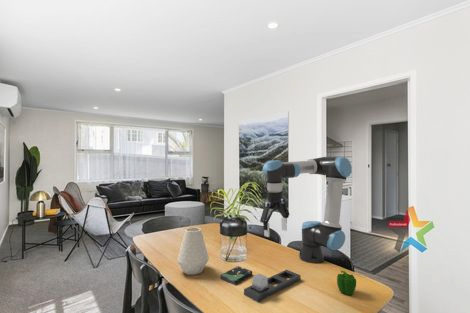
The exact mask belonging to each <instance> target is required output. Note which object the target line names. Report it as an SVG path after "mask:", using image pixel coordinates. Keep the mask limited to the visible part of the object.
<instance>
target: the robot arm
mask: <svg viewBox="0 0 470 313" xmlns="http://www.w3.org/2000/svg"><path fill="white" fill-rule="evenodd" d="M352 170H353V168H352V164H351V161H350V160H349V159H348V158H347V157H345V156H322V157H315V158H310V159H307V160H302V161H301V160H300V161H298V160H297V161H287V162H286V161H284V162H283V161H281V160H267V161H266V163H265V164H264V165H263V167H262V173H263V174H264V175H265V176H266V188H267V192H266V194H267V197H266V199H267V200H268V202H264V203H263V204H264V205H263V210H262V213H261V216H260V220H259V222H260V223H262V224H263V226H262V227H263V232H264V233H263V235H264V237H267V238H270V234H271V233H270V219H271V217H272V214H273V212H275V211H277V210H278V212H279V213H280V215H281V219H280V221H281V223H280V224H281V231H285V232H287V227H288V226H287V224H288V218H289V217H290V212H289V209H288V207H287V203H286V199H285V198H284V197H283V180H284V179H293V178H297V177H299V176H300V174H301V175H302V174H309V175H318V176H319V175H320V176H325V179H326V180H327V186H326V187H327V188H326V195H325V196H326V198H325V207H324V216H323V221H322V222H321V221H320V220H319V221H317V220H308V221H304V222H302V225H301V246H300V251H299V253H298V256H299V260H302V261H304V262H306V263H311V264H313V263H314V264H319V263H322V262H324V261H325V255H324V252H323V249H322V247H323V248H326V249H328V250H333V251H338V250H340V249H342V247H343V246H344V245H345V241H346V233H345V232H344V231H343V230H342V225H341V223H340V220H341V208H342V198H343V189H344V188H343V187H344V183H346V181H347V178H349V177H350V176H351V174H352Z"/></svg>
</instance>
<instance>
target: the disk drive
mask: <svg viewBox="0 0 470 313" xmlns="http://www.w3.org/2000/svg"><path fill="white" fill-rule="evenodd" d="M250 277H253V271H252V270H250V269H247V268H243V267H241V266H239V265H238V266H235V267H233V268H231V269H229V270H227V271H225V272H224V273H222V274H220V280H222V281H224V282H227V283H228V284H232V286H233V285H234V286H236V285H238V284H240V283H241V282H243V281H245V280H246V279H249V278H250Z"/></svg>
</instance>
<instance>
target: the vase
mask: <svg viewBox="0 0 470 313" xmlns="http://www.w3.org/2000/svg"><path fill="white" fill-rule="evenodd" d="M184 230H185V231H184V234H183V237H182V240H181V244H180V248H179V252H178V255H177V260H176V261H177V264H178V265H179V267H180V269H181V270H182V272H183V274H185V275H189V276H190V275H191V276H192V275H193V276H194V275H198V274H201V273H203V271H204V269H205V267H206V265H207V264H208V261H209V253H208V250H207V247H206V243H205V239H204V235H203V232H202V228H200V227H188V228H186V229H184Z"/></svg>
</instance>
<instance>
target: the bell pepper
mask: <svg viewBox="0 0 470 313" xmlns="http://www.w3.org/2000/svg"><path fill="white" fill-rule="evenodd" d="M336 284H337V287H338V288H337V289H338V290H339V292H340V293H342V294H345V295H347V296H352V295H353V294H355V291H356V288H357V279H356V277H355V276H354V275H353V274H350V273H347V272H346V271H345V270H340V273H338V274H337V276H336Z"/></svg>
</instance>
